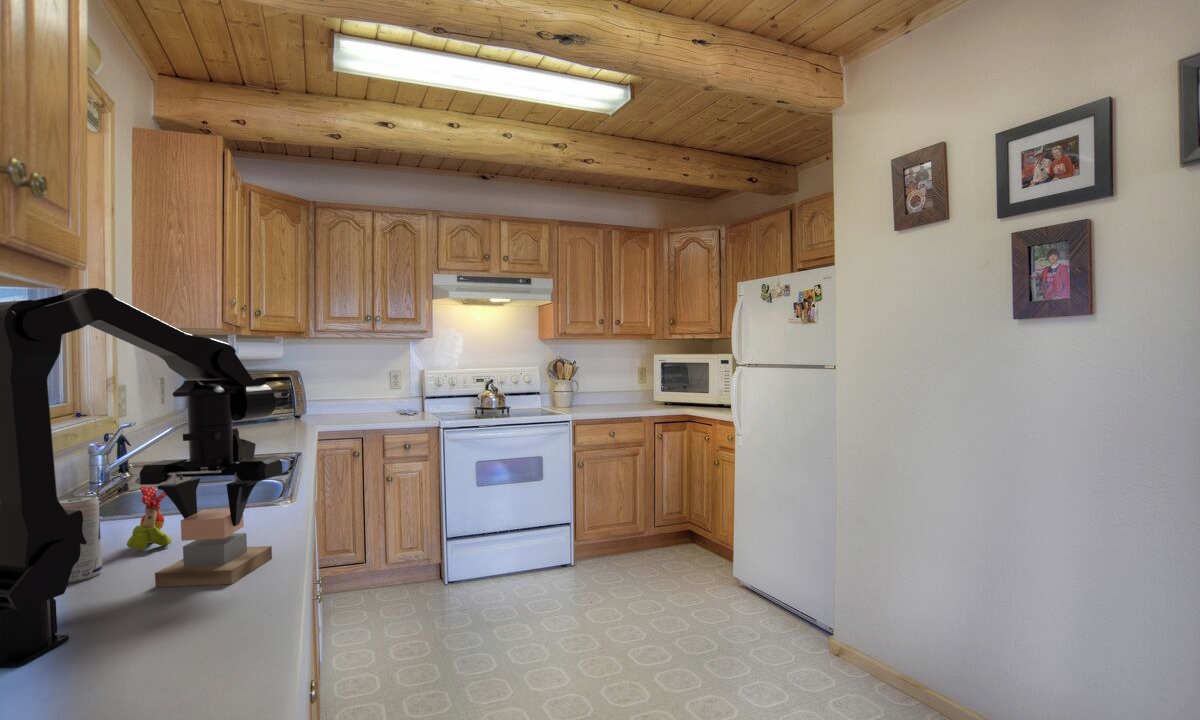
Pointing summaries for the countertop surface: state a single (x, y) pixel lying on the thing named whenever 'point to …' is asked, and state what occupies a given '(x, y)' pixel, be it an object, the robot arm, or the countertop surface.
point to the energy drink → (87, 537)
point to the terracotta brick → (208, 525)
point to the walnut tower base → (213, 570)
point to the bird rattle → (149, 522)
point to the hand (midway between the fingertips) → (214, 526)
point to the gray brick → (214, 550)
